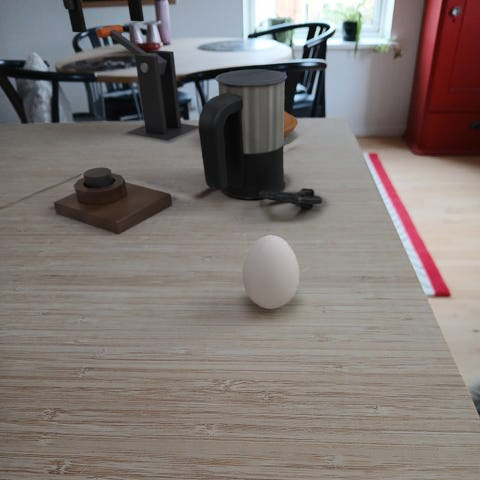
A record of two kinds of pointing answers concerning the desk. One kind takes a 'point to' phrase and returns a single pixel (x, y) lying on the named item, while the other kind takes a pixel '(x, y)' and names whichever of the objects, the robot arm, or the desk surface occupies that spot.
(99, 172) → the stop button
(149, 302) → the desk surface
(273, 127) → the milk frother
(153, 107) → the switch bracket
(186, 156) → the desk surface
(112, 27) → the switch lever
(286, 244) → the egg
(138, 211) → the brown button base
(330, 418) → the desk surface
